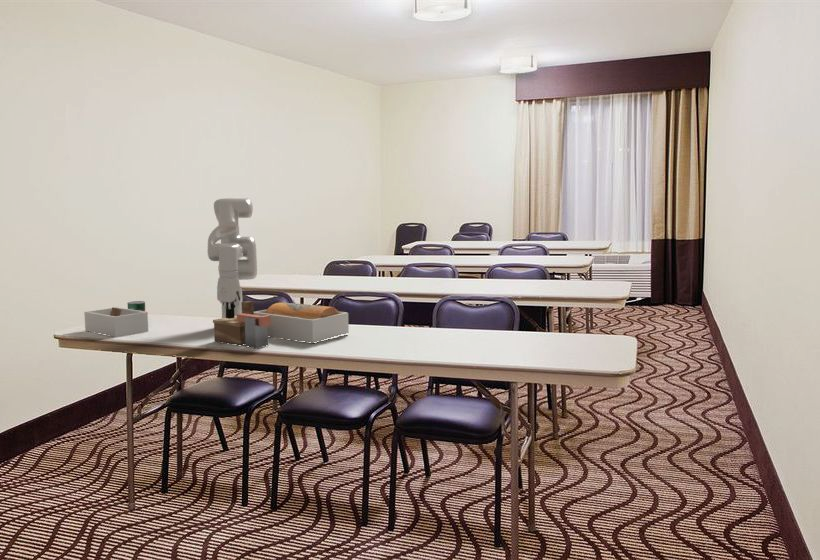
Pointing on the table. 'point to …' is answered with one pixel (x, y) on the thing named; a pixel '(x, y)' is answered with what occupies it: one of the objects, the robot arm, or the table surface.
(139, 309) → the canned tomato
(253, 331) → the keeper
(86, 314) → the frame
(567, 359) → the table surface
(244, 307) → the lid
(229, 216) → the robot arm
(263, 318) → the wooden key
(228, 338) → the brown open box
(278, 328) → the frame
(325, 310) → the orange brown curved block
